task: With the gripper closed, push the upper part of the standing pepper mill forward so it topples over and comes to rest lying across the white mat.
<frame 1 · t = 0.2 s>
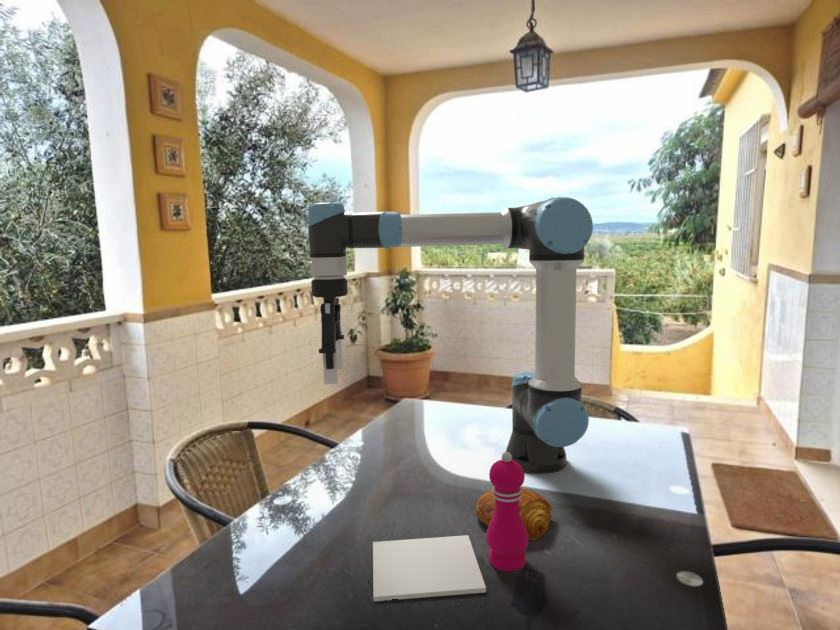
hand: (333, 376, 118), 28 cm above the table, tool pointing down, fingers open, 13 cm apart
croissant: (515, 524, 109), on the table
white mat: (425, 567, 94), on the table
pepper mill: (507, 562, 96), on the table
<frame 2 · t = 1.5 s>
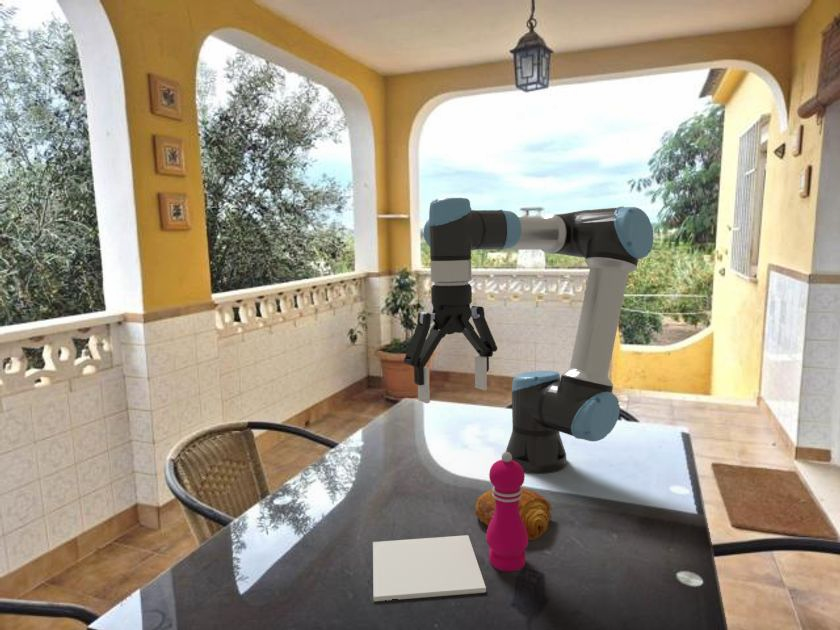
hand: (453, 395, 103), 27 cm above the table, tool pointing down, fingers open, 13 cm apart
nothing on the table moved.
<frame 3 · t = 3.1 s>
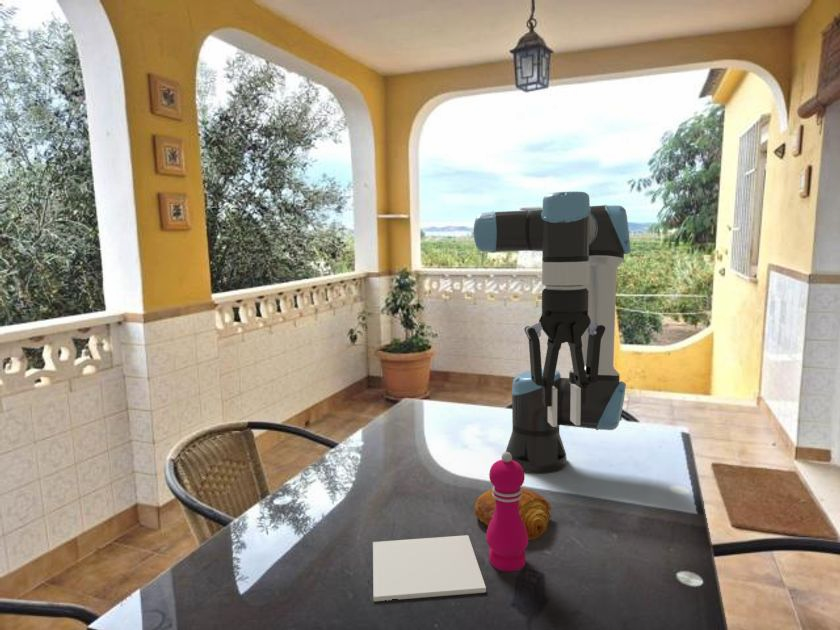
hand: (563, 423, 93), 25 cm above the table, tool pointing down, fingers open, 3 cm apart
nothing on the table moved.
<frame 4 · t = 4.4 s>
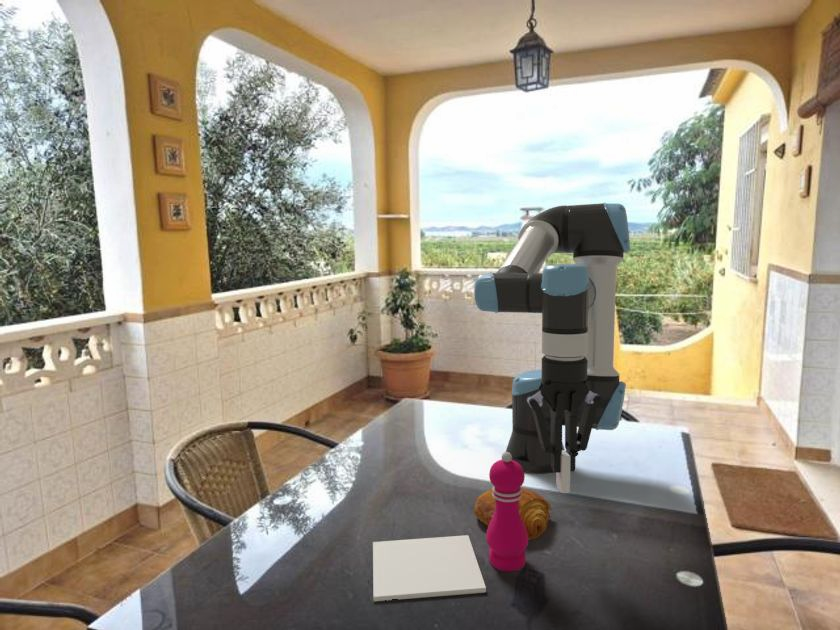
hand: (563, 488, 95), 13 cm above the table, tool pointing down, fingers closed
nothing on the table moved.
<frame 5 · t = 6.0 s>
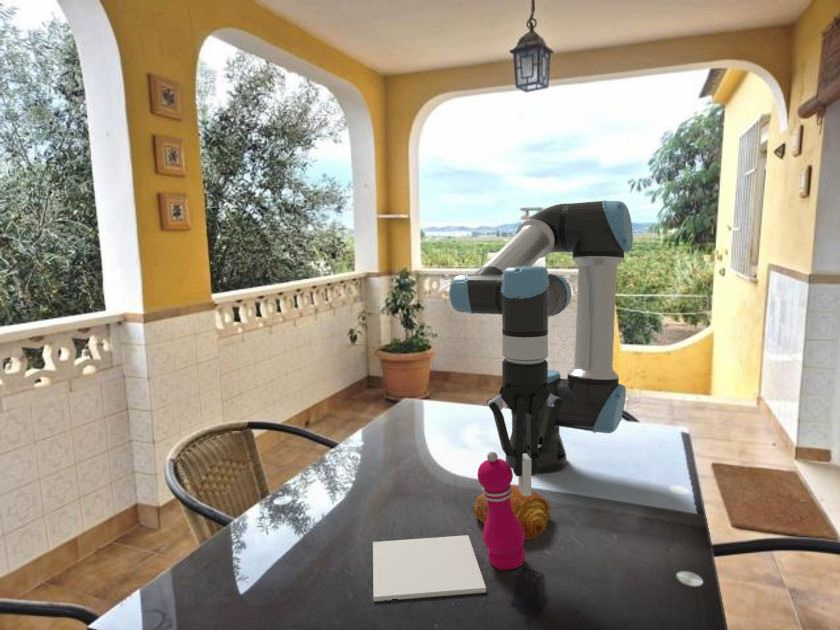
hand: (524, 492, 94), 13 cm above the table, tool pointing down, fingers closed
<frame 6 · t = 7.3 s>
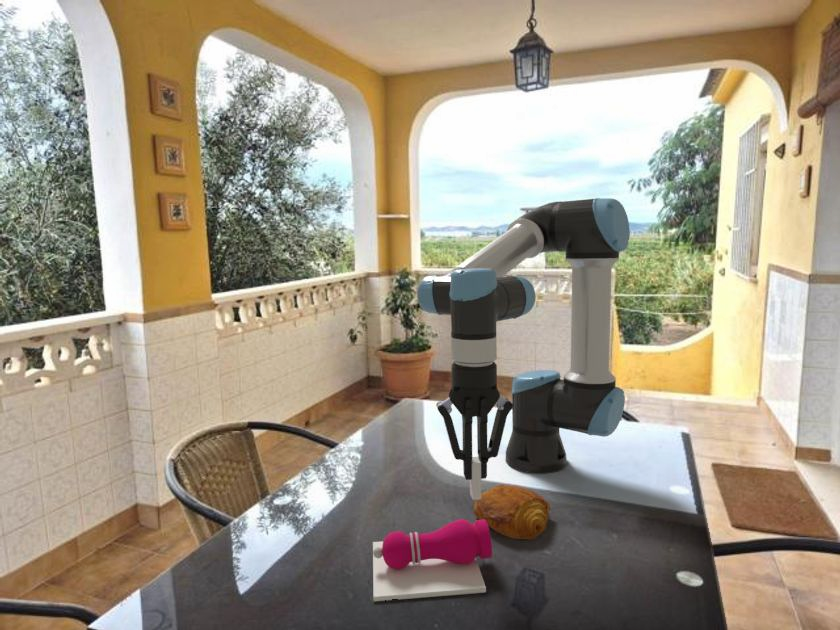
hand: (475, 496, 94), 13 cm above the table, tool pointing down, fingers closed
pepper mill: (489, 538, 95), point 5 cm above the table, touching white mat
everything else where it was.
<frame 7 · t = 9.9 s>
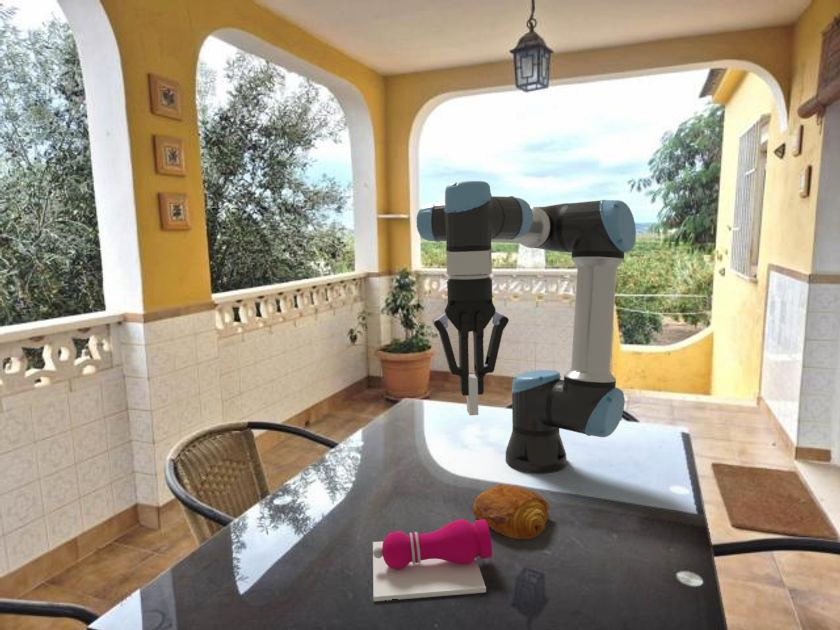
hand: (472, 412, 94), 27 cm above the table, tool pointing down, fingers closed
nothing on the table moved.
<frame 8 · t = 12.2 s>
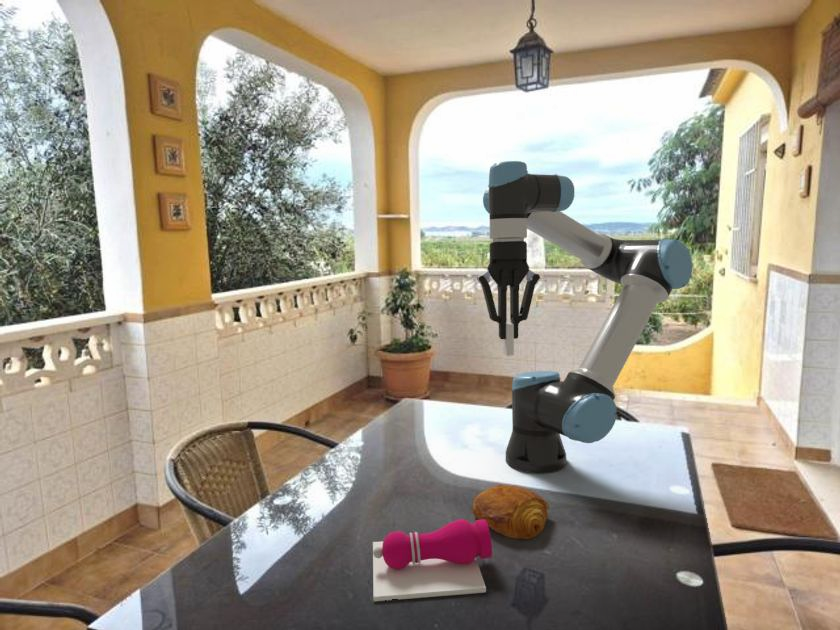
hand: (508, 354, 114), 32 cm above the table, tool pointing down, fingers closed
nothing on the table moved.
at the end: pepper mill tilted 93°; pepper mill touching white mat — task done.
